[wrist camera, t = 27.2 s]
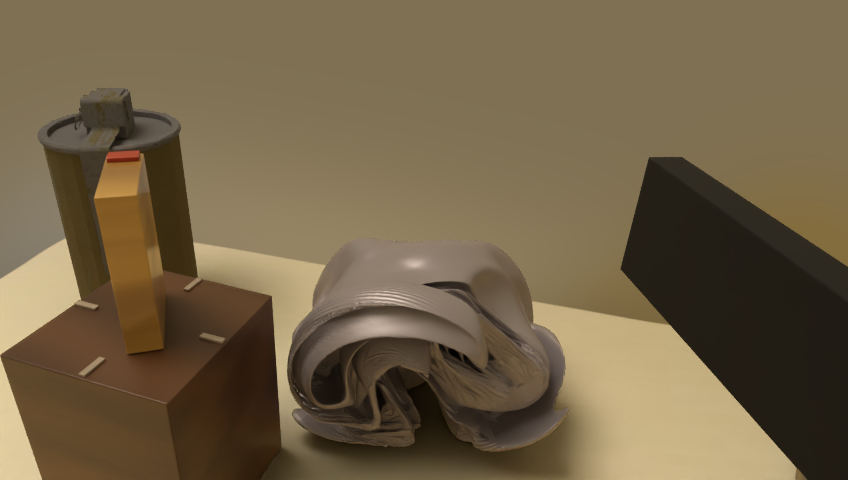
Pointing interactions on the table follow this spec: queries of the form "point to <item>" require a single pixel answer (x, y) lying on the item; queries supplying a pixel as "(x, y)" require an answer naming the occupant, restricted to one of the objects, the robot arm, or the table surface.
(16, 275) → the table surface
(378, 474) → the table surface
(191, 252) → the canister
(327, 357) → the grey shiny folded piece
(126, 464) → the walnut box
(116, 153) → the wooden red-tipped block
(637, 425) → the table surface
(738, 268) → the robot arm
